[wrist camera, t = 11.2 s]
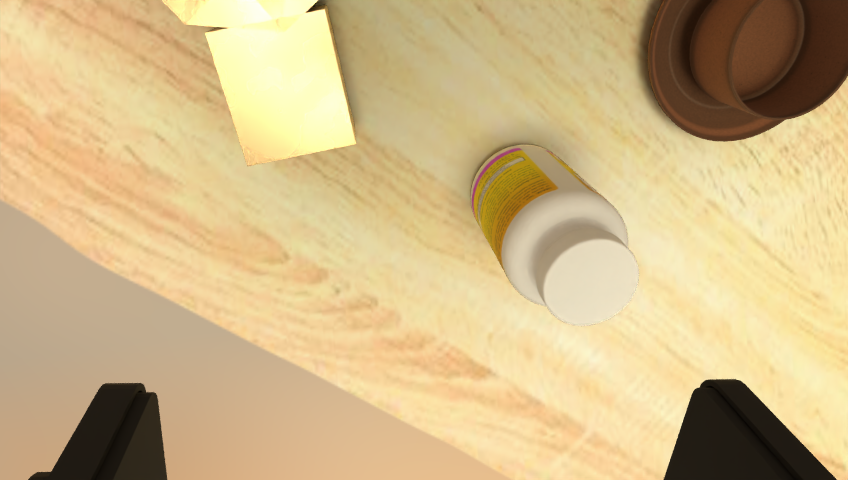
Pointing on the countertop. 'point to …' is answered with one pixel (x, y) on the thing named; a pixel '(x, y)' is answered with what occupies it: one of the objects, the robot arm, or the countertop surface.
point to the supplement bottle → (554, 235)
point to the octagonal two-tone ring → (276, 74)
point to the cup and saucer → (745, 62)
